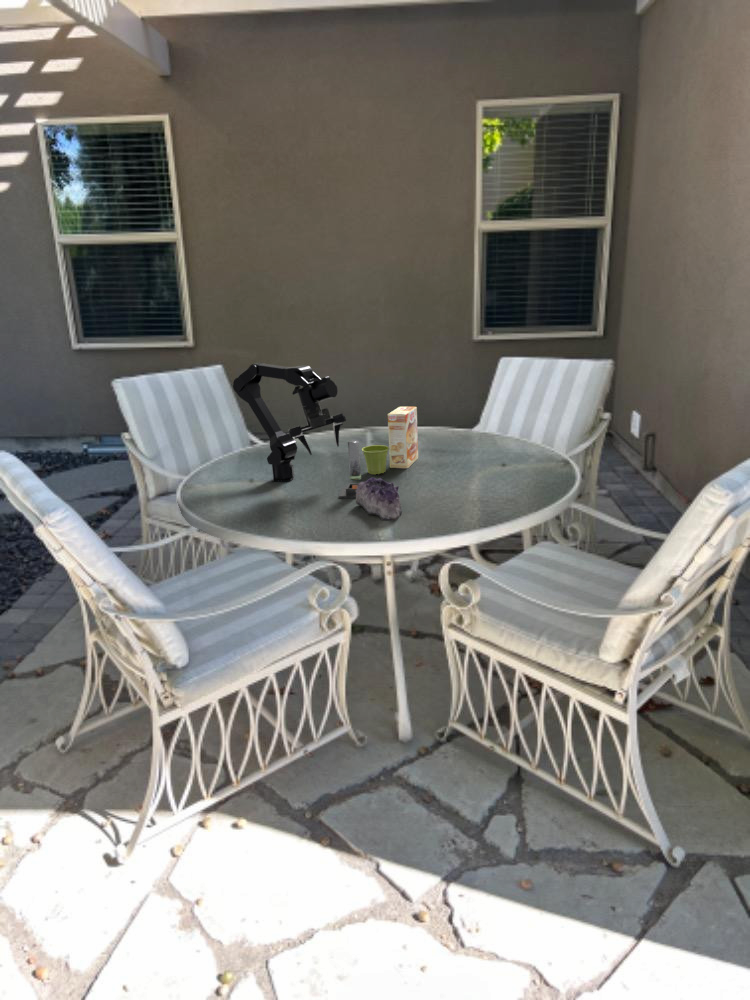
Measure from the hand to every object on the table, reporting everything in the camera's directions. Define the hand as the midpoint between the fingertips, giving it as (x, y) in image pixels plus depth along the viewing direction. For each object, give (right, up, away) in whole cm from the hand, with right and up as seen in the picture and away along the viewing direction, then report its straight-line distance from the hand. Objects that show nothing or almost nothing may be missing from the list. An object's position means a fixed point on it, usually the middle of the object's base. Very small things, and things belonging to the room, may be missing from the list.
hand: (324, 450), depth 227 cm
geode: (+19, -19, -23) cm, 35 cm away
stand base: (+11, -14, -6) cm, 19 cm away
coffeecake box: (+27, -3, +26) cm, 38 cm away
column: (+10, -10, -8) cm, 17 cm away
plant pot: (+17, -7, +16) cm, 24 cm away
